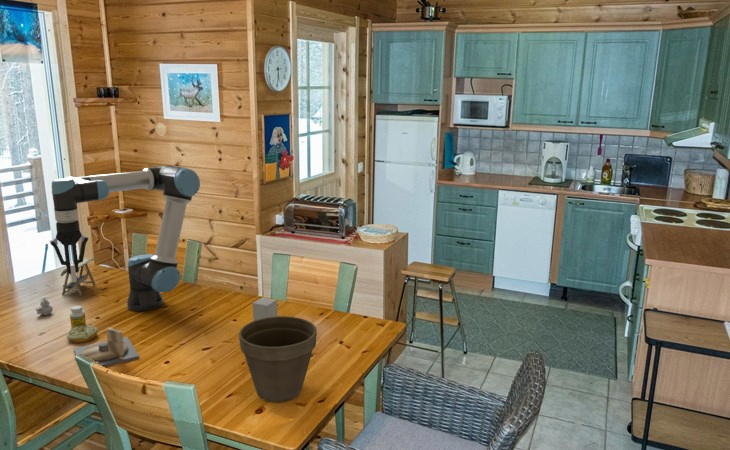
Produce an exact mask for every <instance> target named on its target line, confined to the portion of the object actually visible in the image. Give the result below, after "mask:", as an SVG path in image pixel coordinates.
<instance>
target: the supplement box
mask: <svg viewBox="0 0 730 450" xmlns="http://www.w3.org/2000/svg"><path fill="white" fill-rule="evenodd" d="M252 315H253V319H252V321H255V320H258V319H262V318H267V317H275V316H278V299H274V298H268V297H261V298H259V299H257V300H255V301H253V302H252Z"/></svg>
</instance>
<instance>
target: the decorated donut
mask: <svg viewBox="0 0 730 450" xmlns="http://www.w3.org/2000/svg"><path fill="white" fill-rule="evenodd" d="M97 334H98V328H97V327H96V326H94V325H89V324H88V325H87V324H86V326H78V327H75V328H71V329H69V330H68V332H67V333H66V339H67V340H68V341H69V342H71V343H73V344H83V343H86V342H89V340H90V341H92V340H93V339H94V338H96V336H97Z"/></svg>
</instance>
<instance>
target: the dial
mask: <svg viewBox="0 0 730 450" xmlns="http://www.w3.org/2000/svg"><path fill="white" fill-rule="evenodd" d="M106 337H107V340H101V341H97V342H95V343H91V344H92V345H91V344H89V345H90V346H88V347H86V348H85V349H84V351H83V355H84V356H86V357H88V358H90V359H92V360H94V361H104V360H110V359H114V358H116V357H119V356H122V355H124V353H125V352H126V351H127V349H128V346H127V343H125V342H124V341H123V339H122V338H123V331H121V330H118V329H115V328H113V327H106Z"/></svg>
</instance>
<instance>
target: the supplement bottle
mask: <svg viewBox="0 0 730 450" xmlns="http://www.w3.org/2000/svg"><path fill="white" fill-rule="evenodd" d="M69 319H70V326H71V329H72V328H75V327H78V326H87V322H86V321H87V320H86V314H85V311H84V310H83V306H82V305H74V306H71V308H70V313H69Z"/></svg>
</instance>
